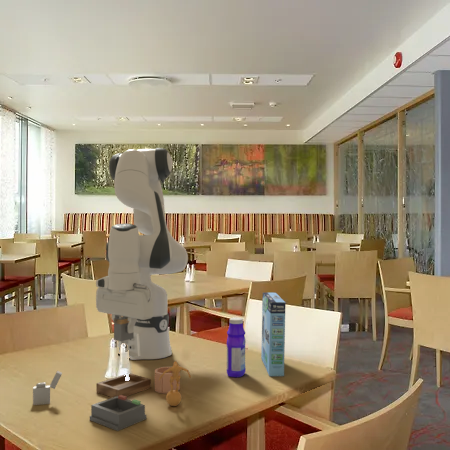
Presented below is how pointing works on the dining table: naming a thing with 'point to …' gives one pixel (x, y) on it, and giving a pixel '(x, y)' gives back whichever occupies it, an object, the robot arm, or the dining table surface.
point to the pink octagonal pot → (164, 381)
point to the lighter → (44, 390)
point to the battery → (121, 329)
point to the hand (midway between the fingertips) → (124, 331)
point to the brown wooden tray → (123, 385)
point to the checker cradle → (118, 412)
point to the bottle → (236, 348)
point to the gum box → (273, 334)
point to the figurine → (173, 395)
